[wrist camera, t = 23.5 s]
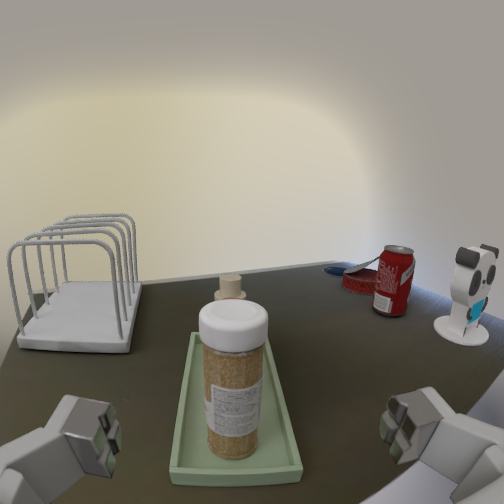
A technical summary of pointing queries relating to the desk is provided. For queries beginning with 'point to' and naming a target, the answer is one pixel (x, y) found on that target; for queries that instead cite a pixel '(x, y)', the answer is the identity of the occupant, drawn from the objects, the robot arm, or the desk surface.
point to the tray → (269, 434)
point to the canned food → (360, 279)
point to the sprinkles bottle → (233, 374)
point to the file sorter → (82, 295)
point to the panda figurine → (469, 296)
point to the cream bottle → (230, 287)
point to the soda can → (393, 281)
